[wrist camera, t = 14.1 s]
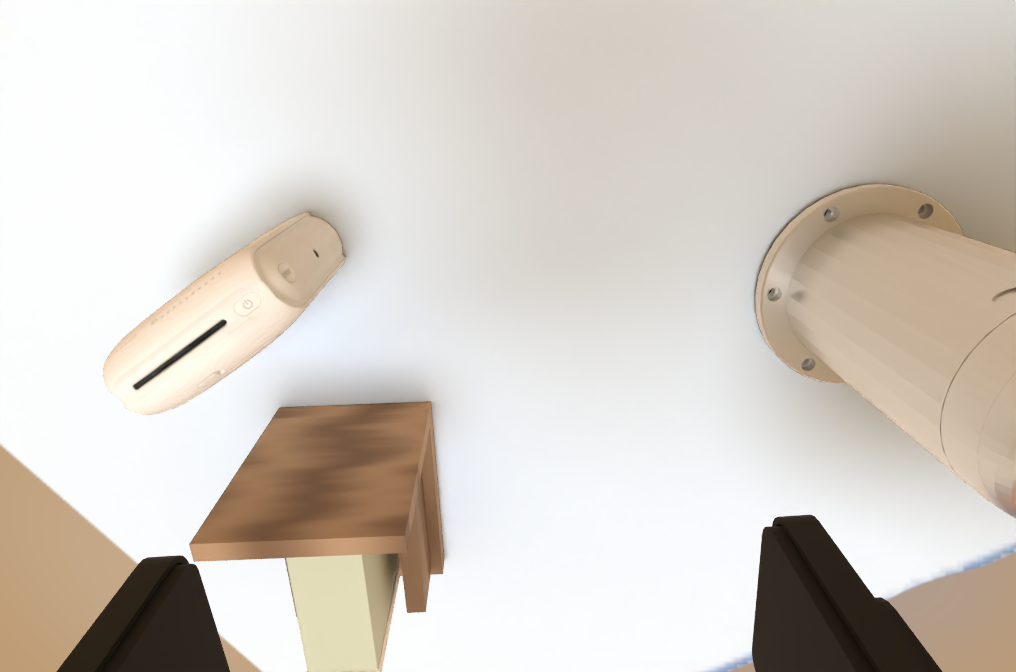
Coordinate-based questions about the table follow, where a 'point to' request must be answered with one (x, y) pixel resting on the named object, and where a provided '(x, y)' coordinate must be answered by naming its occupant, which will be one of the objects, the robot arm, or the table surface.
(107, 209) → the table surface
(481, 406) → the table surface
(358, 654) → the beige rectangular block
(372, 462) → the shelf
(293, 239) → the photo printer
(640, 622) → the table surface
